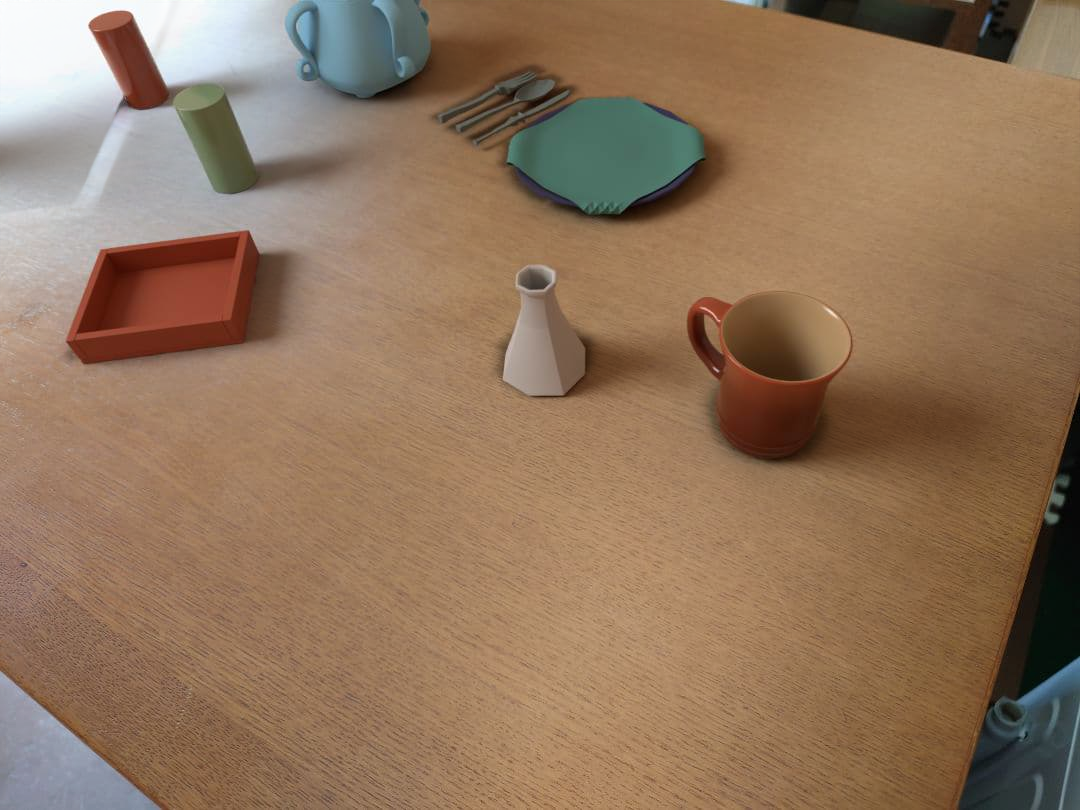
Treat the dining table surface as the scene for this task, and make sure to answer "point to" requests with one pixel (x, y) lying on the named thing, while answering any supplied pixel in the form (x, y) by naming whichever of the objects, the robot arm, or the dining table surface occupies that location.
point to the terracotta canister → (129, 59)
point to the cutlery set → (593, 147)
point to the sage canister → (216, 137)
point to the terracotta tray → (166, 297)
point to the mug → (770, 366)
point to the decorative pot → (359, 42)
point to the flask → (542, 339)
